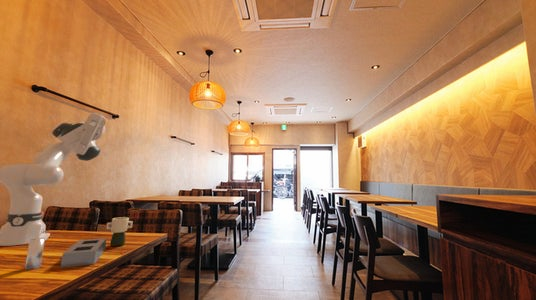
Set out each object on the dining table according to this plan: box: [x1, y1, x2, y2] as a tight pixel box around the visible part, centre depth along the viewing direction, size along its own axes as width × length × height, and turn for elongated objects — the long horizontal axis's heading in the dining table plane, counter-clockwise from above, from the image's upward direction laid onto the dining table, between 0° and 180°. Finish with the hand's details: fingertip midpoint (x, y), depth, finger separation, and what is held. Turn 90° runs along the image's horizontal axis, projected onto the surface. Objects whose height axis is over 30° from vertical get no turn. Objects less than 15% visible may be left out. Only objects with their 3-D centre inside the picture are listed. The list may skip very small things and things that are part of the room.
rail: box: [60, 237, 107, 269], centre depth 93 cm, size 20×10×5 cm, turn 26°
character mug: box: [105, 216, 134, 247], centre depth 112 cm, size 11×7×13 cm, turn 122°
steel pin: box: [24, 238, 46, 271], centre depth 82 cm, size 4×4×10 cm
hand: (86, 135), depth 97 cm, fingers open, 8 cm apart
